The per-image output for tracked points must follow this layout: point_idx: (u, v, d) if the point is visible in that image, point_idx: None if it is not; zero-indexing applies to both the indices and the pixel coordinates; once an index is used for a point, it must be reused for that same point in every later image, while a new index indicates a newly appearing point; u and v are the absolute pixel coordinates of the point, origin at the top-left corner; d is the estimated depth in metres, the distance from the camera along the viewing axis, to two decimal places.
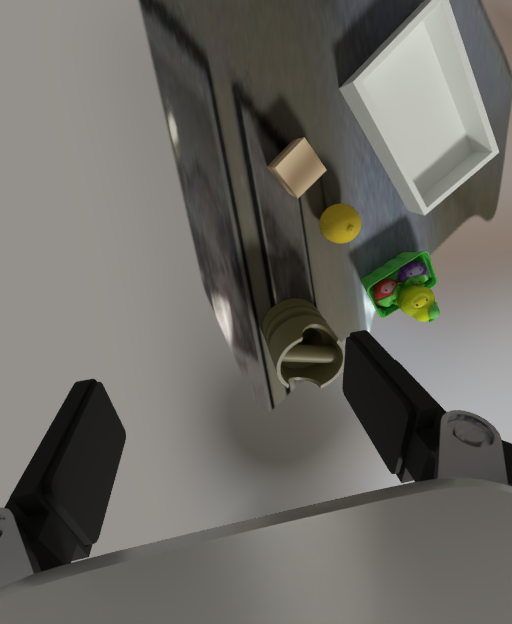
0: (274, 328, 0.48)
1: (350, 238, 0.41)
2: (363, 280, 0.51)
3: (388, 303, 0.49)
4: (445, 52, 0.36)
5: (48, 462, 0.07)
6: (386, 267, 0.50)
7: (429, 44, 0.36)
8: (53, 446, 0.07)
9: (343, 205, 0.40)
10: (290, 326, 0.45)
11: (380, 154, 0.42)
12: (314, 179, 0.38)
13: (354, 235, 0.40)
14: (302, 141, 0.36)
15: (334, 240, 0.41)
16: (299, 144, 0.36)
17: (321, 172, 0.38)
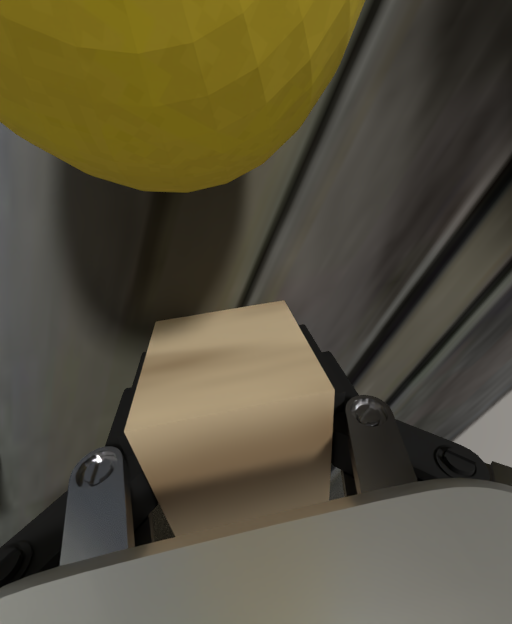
0: None
1: None
2: None
3: None
4: None
5: None
6: None
7: None
8: None
9: None
10: None
11: None
12: (210, 422, 0.07)
13: None
14: (189, 530, 0.09)
15: None
16: (205, 527, 0.09)
17: (158, 432, 0.07)
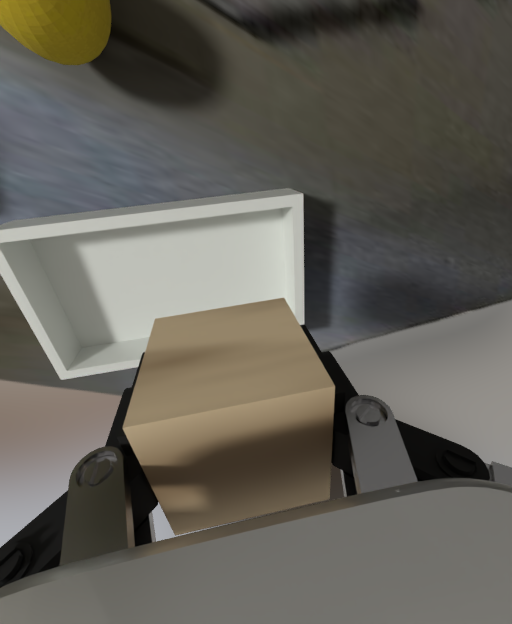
0: None
1: None
2: None
3: None
4: None
5: None
6: None
7: None
8: None
9: (97, 27, 0.14)
10: None
11: (159, 205, 0.22)
12: (209, 418, 0.07)
13: None
14: (188, 528, 0.09)
15: None
16: (204, 525, 0.09)
17: (157, 429, 0.07)
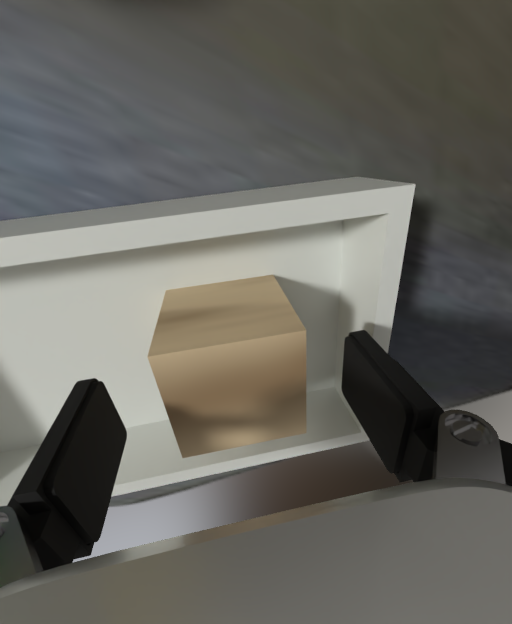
0: None
1: None
2: None
3: None
4: None
5: (51, 461, 0.07)
6: None
7: None
8: (55, 445, 0.07)
9: None
10: None
11: (105, 211, 0.11)
12: (211, 352, 0.09)
13: None
14: (193, 452, 0.11)
15: None
16: (206, 450, 0.11)
17: (172, 359, 0.09)
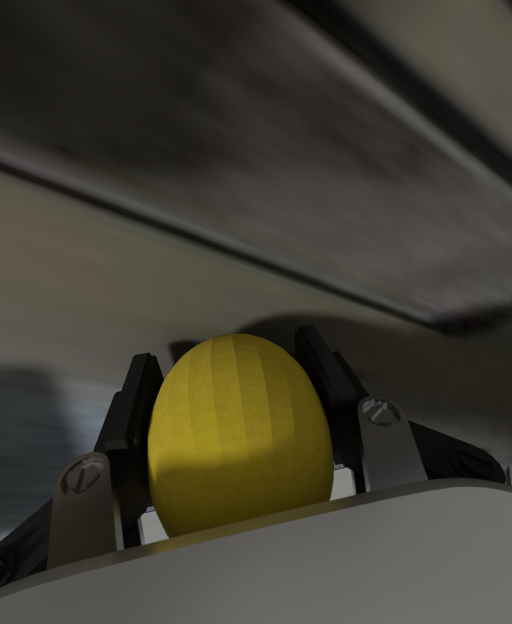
0: None
1: None
2: None
3: None
4: None
5: (129, 416, 0.08)
6: None
7: None
8: (129, 404, 0.08)
9: None
10: None
11: None
12: None
13: None
14: None
15: (211, 435, 0.06)
16: None
17: None
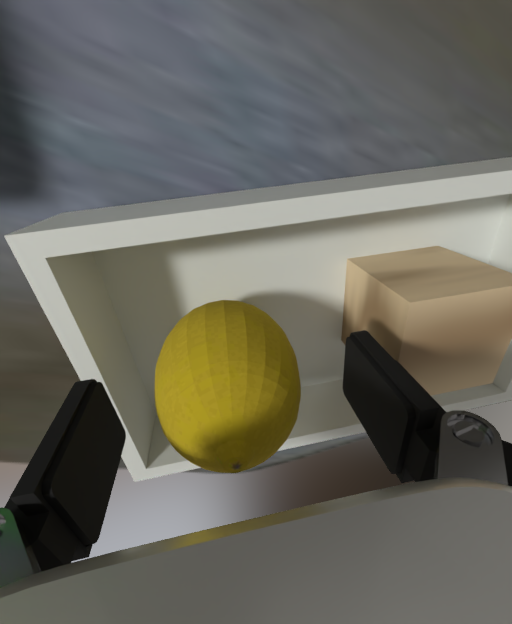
0: None
1: (181, 434, 0.08)
2: None
3: None
4: None
5: (48, 462, 0.07)
6: None
7: None
8: (53, 446, 0.07)
9: None
10: None
11: (328, 182, 0.12)
12: (457, 300, 0.10)
13: (185, 450, 0.09)
14: None
15: (202, 359, 0.09)
16: None
17: (426, 306, 0.10)
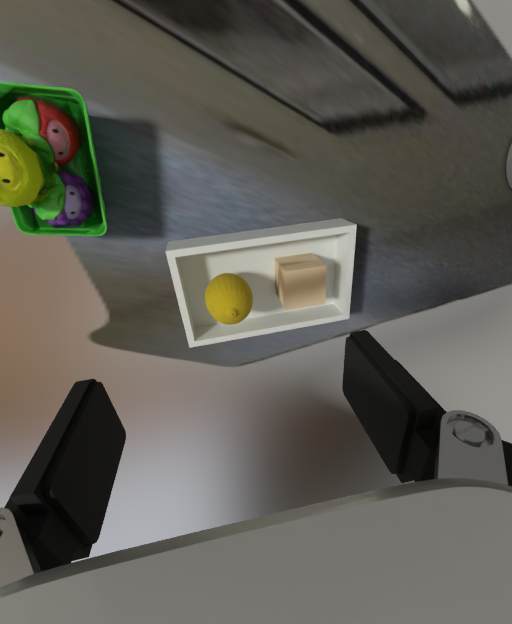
0: None
1: (217, 307, 0.30)
2: None
3: (16, 117, 0.22)
4: (302, 314, 0.39)
5: (48, 462, 0.07)
6: None
7: None
8: (53, 446, 0.07)
9: None
10: None
11: (262, 231, 0.34)
12: (301, 271, 0.32)
13: (218, 313, 0.30)
14: (289, 308, 0.34)
15: (223, 287, 0.30)
16: (293, 307, 0.34)
17: (290, 272, 0.32)
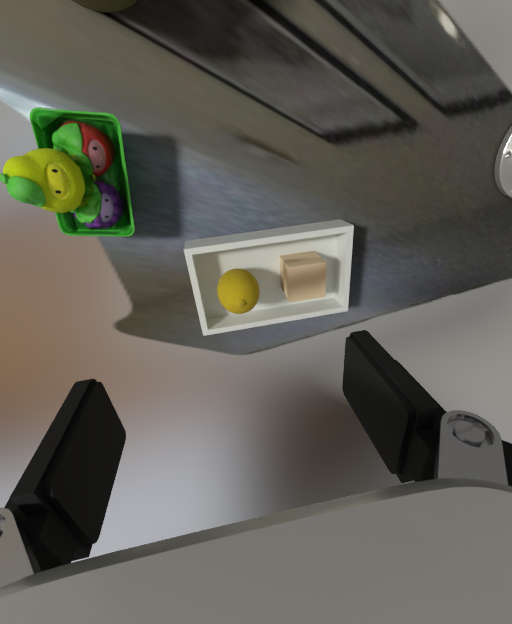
0: None
1: (228, 298, 0.34)
2: None
3: (64, 137, 0.26)
4: (305, 307, 0.43)
5: (48, 462, 0.07)
6: None
7: (313, 299, 0.45)
8: (53, 446, 0.07)
9: None
10: None
11: (269, 231, 0.38)
12: (303, 267, 0.36)
13: (228, 303, 0.35)
14: (293, 300, 0.38)
15: (233, 280, 0.34)
16: (296, 300, 0.38)
17: (293, 268, 0.36)
